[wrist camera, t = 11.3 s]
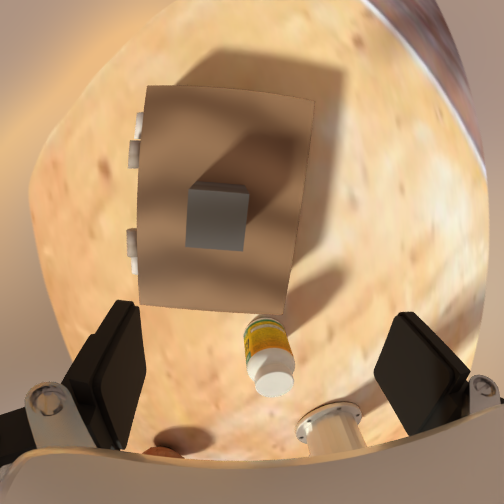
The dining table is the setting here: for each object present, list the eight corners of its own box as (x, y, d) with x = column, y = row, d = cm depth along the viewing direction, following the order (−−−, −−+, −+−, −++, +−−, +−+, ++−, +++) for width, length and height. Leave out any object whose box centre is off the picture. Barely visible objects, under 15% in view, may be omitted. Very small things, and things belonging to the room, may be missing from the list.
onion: (198, 454, 46) (197, 495, 37) (162, 461, 47) (158, 499, 37) (169, 432, 43) (163, 477, 33) (132, 440, 44) (124, 480, 34)
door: (280, 307, 29) (292, 345, 23) (132, 296, 28) (112, 332, 22) (310, 103, 23) (336, 90, 17) (138, 89, 21) (112, 72, 15)
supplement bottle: (287, 343, 37) (303, 395, 28) (248, 352, 37) (254, 406, 28) (281, 311, 35) (297, 361, 26) (238, 321, 35) (243, 374, 26)
